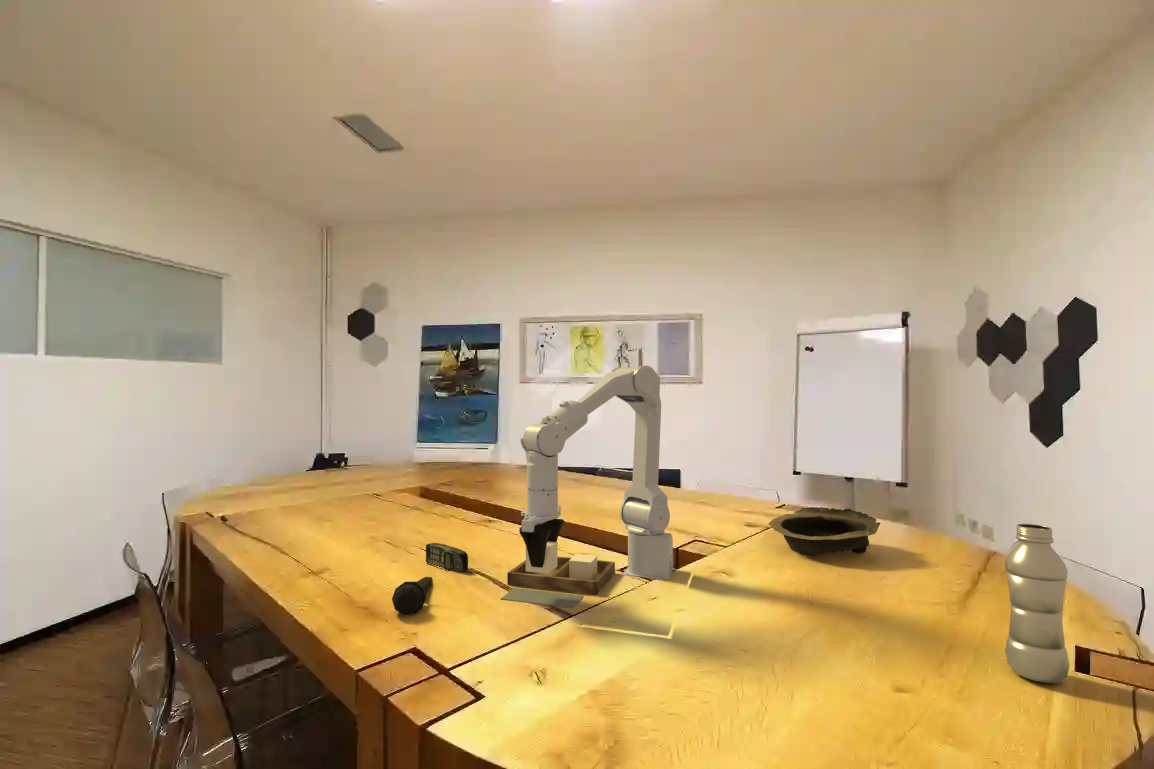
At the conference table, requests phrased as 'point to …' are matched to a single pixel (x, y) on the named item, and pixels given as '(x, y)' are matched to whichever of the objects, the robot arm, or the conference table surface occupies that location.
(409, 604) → the microphone
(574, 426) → the robot arm
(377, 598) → the conference table surface
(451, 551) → the mobile phone
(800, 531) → the stone bowl
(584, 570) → the blank cube
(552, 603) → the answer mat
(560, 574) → the organizer
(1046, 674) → the plastic bottle
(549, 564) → the letter cube
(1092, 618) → the conference table surface
